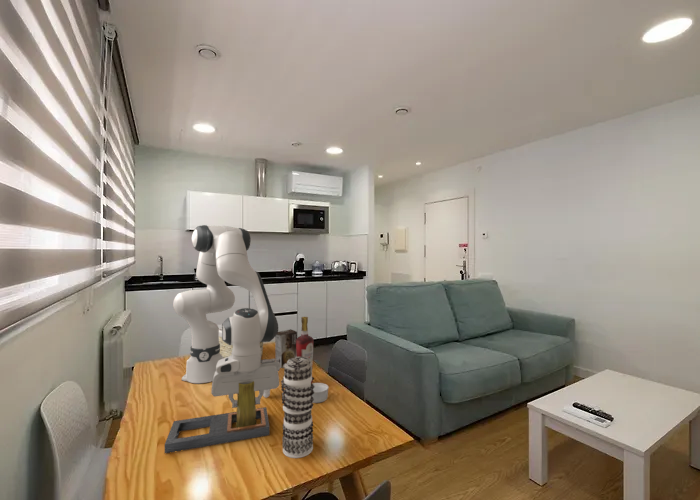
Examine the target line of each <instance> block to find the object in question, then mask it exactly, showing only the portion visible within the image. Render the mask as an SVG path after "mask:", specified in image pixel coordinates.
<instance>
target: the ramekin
mask: <svg viewBox="0 0 700 500" xmlns="http://www.w3.org/2000/svg"><path fill="white" fill-rule="evenodd" d="M312 384H313V385H314V388H313V391H314V394H313V395H312V397H313V399H314V400H313V402H312V404H319V403H323V402H325V401H327V400H328V396H329V387H330V386H329V385H328V384H326V383H323V382H312Z"/></svg>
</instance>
